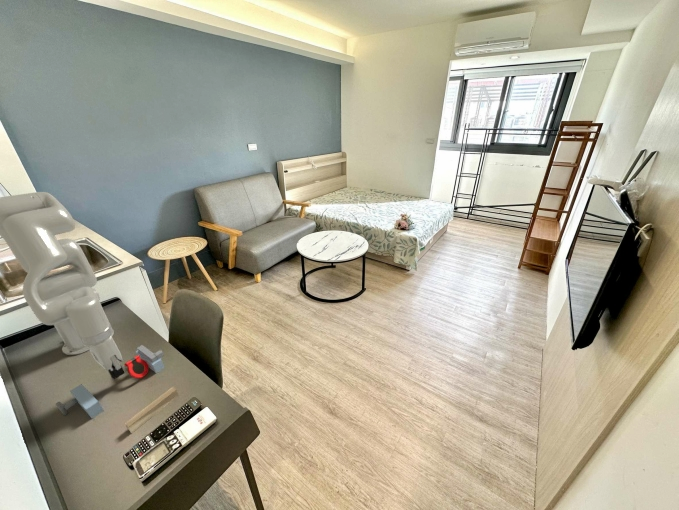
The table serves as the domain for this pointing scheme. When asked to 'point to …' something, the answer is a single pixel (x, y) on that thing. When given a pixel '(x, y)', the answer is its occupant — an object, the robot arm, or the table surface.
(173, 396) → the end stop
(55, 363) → the table surface
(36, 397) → the table surface
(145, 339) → the table surface
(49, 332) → the table surface
